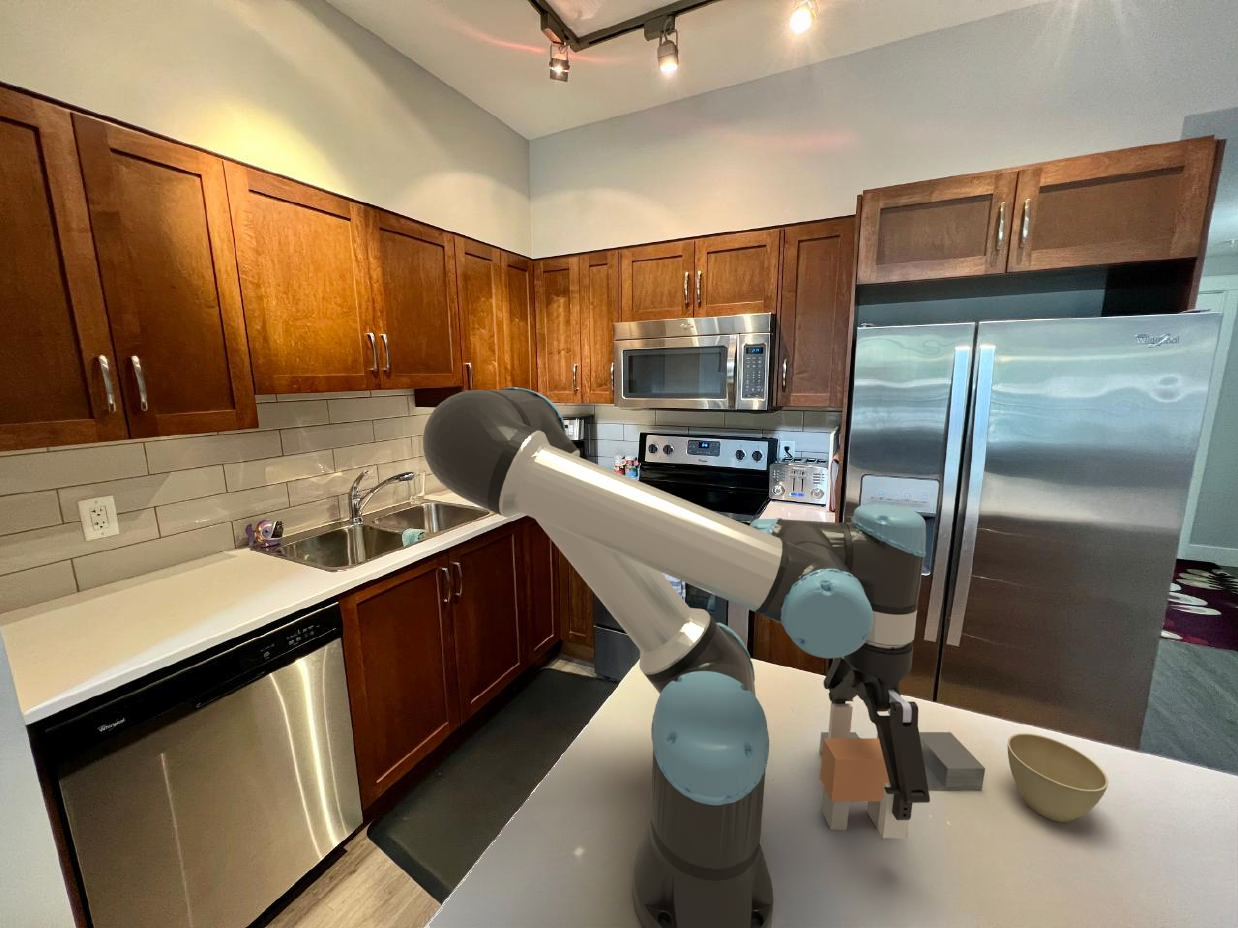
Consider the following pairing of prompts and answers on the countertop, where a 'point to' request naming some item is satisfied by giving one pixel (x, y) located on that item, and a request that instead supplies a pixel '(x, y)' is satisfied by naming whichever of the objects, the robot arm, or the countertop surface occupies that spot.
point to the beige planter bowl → (1055, 777)
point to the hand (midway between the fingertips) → (862, 786)
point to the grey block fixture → (944, 762)
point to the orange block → (852, 778)
